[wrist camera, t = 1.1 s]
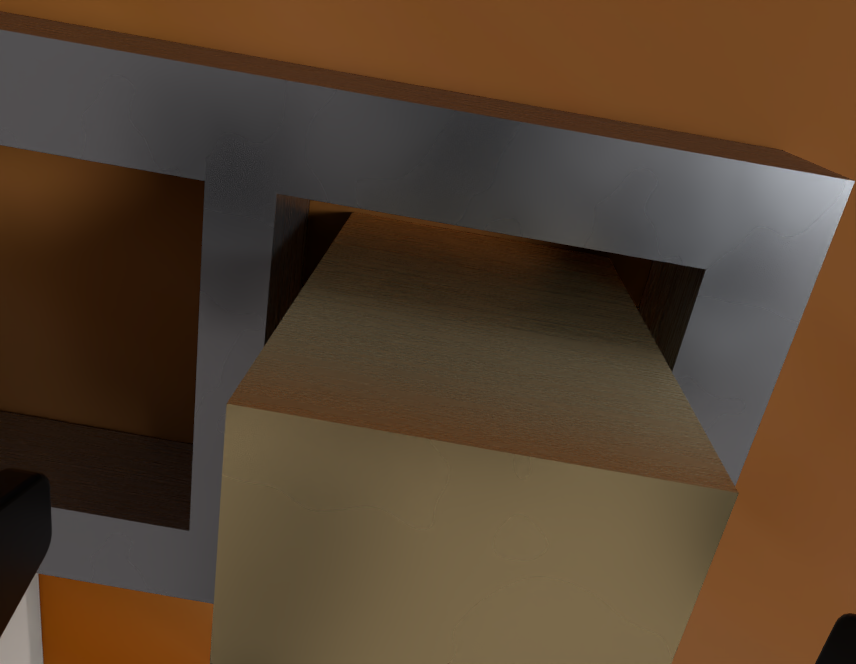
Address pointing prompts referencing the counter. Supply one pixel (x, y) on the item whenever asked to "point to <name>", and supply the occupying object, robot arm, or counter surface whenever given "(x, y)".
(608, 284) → the block
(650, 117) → the counter surface
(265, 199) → the grey rectangular frame
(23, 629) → the parts tray
